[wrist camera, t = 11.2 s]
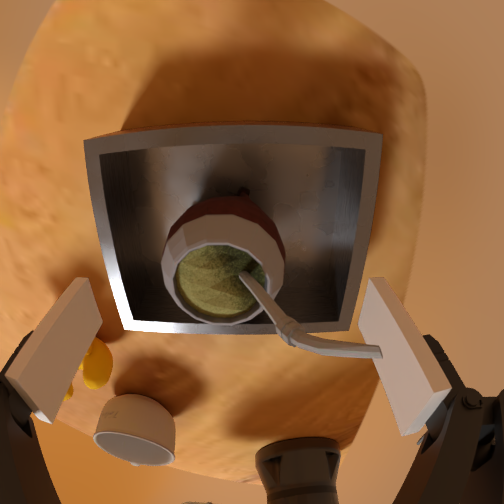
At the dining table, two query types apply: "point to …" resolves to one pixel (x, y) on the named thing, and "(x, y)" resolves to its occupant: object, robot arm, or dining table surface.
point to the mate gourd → (237, 271)
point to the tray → (227, 184)
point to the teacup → (136, 430)
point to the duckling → (95, 366)
